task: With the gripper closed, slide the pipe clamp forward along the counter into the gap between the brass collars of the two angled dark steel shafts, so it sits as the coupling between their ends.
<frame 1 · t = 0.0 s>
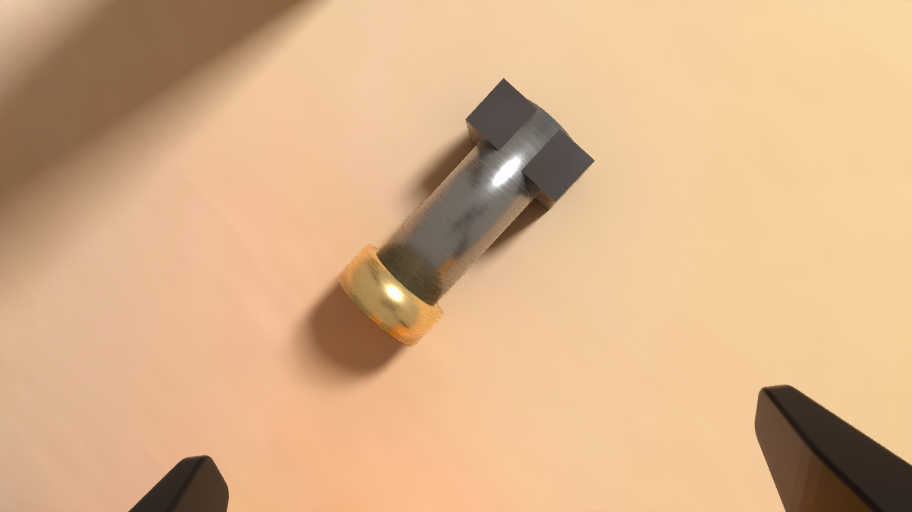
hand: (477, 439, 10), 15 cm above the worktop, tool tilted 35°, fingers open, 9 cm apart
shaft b: (387, 305, 25), on the worktop
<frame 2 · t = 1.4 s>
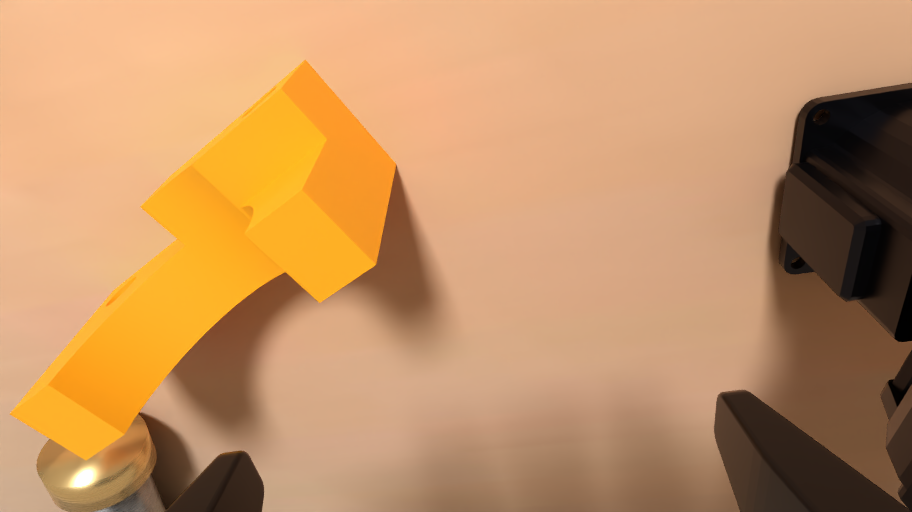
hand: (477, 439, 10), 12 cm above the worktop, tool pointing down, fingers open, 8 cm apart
pipe clamp: (230, 209, 21), on the worktop
shaft a: (117, 408, 26), on the worktop
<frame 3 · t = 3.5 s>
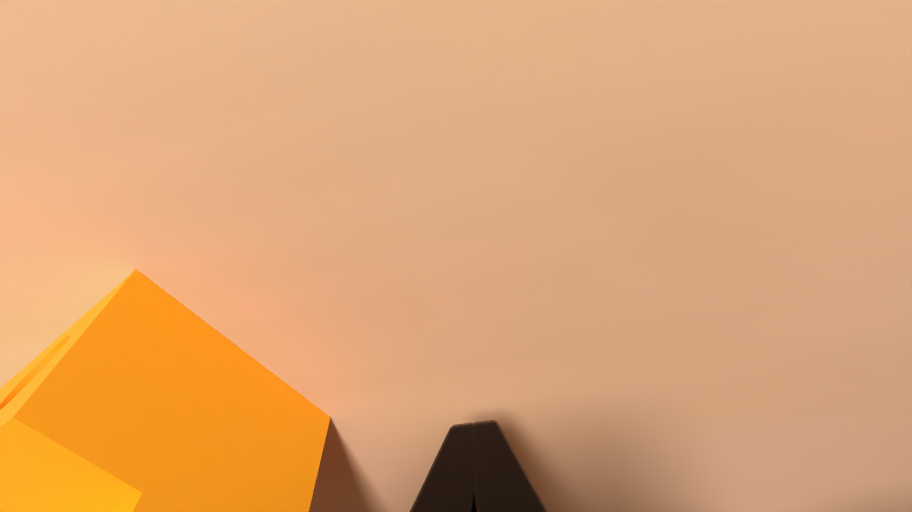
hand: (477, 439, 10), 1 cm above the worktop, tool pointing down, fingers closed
pipe clamp: (60, 476, 13), on the worktop
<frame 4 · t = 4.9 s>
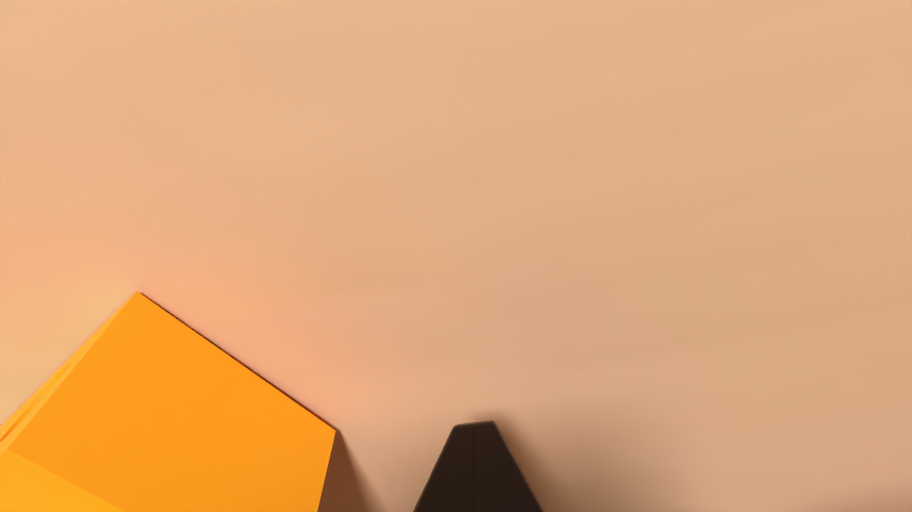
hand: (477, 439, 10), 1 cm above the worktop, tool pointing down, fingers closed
pipe clamp: (74, 502, 13), on the worktop, touching gripper
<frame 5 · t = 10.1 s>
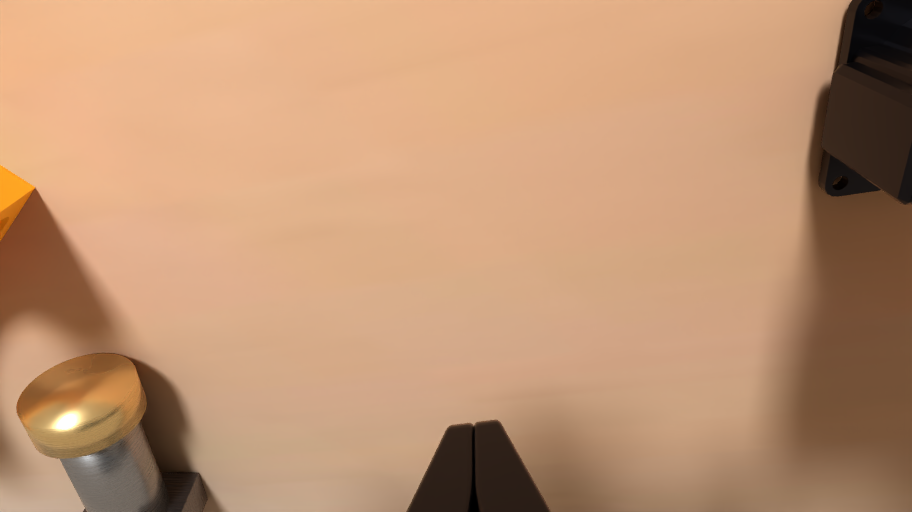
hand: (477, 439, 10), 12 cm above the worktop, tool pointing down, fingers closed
shaft a: (104, 353, 24), on the worktop
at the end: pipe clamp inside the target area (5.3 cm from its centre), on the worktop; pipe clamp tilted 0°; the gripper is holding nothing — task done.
